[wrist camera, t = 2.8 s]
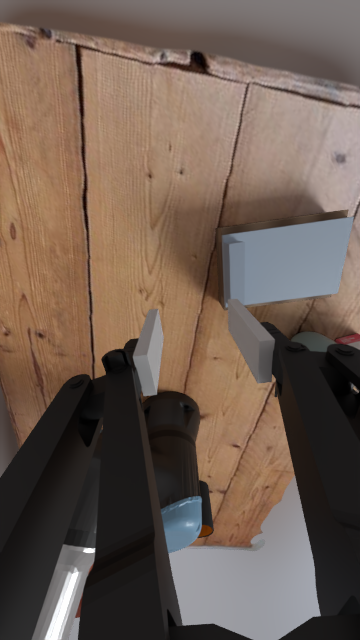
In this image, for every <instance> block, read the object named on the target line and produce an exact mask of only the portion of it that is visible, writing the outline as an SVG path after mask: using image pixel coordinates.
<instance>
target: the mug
mask: <svg viewBox="0 0 360 640" xmlns="http://www.w3.org/2000/svg"><path fill="white" fill-rule="evenodd" d="M199 486H200V496H201V498H202V503H201V511H202V527H201V531H200V534H199V536H198V537H197V538H202V537H206V536H209V535H211V534H212V533H213V531H214V529H213V520H212V512H211V504H210V497H209V489H208V485H207V483H205V482H203V481H199Z"/></svg>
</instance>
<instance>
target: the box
mask: <svg viewBox="0 0 360 640" xmlns="http://www.w3.org/2000/svg"><path fill="white" fill-rule="evenodd" d="M347 214H348V210H341V211H333V212H326V213H319V214H312V215H305V216H298V217H291V218H284V219H277V220H270V221H263V222H256V223H249V224H242V225H235V226H228V227H221V228H216V246H217V266H218V286H219V302H220V304H221V306H222V307H223V309H224V310H228V307H225V305H224V283H223V257H222V235H226V234H233V233H241V232H248V231H255V230H262V229H269V228H276V227H283V226H290V225H297V224H304V223H311V222H318V221H325V220H332V219H339V218H346V217H347ZM331 295H332V294H328V295H320V296H312V297H304V298H296V299H289V300H281V301H273V302H265V303H257V304H250V305H244V307H245V308H248V307H256V306H263V305H271V304H279V303H287V302H295V301H303V300H310V299H318V298H326V297H331Z"/></svg>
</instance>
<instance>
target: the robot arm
mask: <svg viewBox="0 0 360 640" xmlns="http://www.w3.org/2000/svg"><path fill="white" fill-rule="evenodd" d="M228 326H229V331H230V333H231V335H232V337H233V339H234V340H235V342H236V344H237V346H238V348H239V350H240V352H241V353H242V355H243V357H244V359H245V361H246V363H247V365H248V366H249V368H250V370H251V372H252V374H253V376H254V377H255V379H256V381H257V383H266V382H271V381H272V374H273V375H274V377H275V378H276V387H275V397H277V395H278V400H279V404H280V409H281V413H282V418H283V422H284V427H285V432H286V436H287V441H288V445H289V450H290V454H291V459H292V463H293V468H294V472H295V477H296V481H297V486H298V491H299V495H300V499H301V504H302V508H303V513H304V518H305V522H306V527H307V532H308V536H309V541H310V545H311V550H312V554H313V559H314V566H315V577H316V590H317V598H318V603H319V609H320V614H321V616H319V617H312V618H311V619H309V620H308V621H306V622H305V623H303V624H302V625H300V626H299V627H297V628H296V629H294V630H293V631H291V632H289V633H288V634H287V635H285V636H283V637H282V638H281V639H279V640H360V350H359V349H357V348H355V347H353V346H350V345H347V344H331V345H329V346H328V347H327V351H326V352H318V351H310V350H309V349H308V348H307V346H305V345H303V344H302V343H298V342H293V341H290V340H289V339H288V338H287V337H286V336H285V335H284V334H283V333H281V332H280V331H279V330H278V329H277V328H276V327H275V326H274V325H273V324H270V323H268V322H262V323H259V322H258V321H257V320H256V318H255V317H254V316H253V315H252V314H251V313H250V312H249V311H248V310H247V309H246V308H245V307H244V305H243V304H242V303H241V302H240V301H239V300H238V299H229V300H228ZM163 338H164V337H163V332H162V327H161V321H160V316H159V311H158V309H152V310H149V311H148V314H147V317H146V320H145V323H144V326H143V328H142V331H141V334H140V337H139V338H137V339H130V340H129V341H128V342H127V343H126V344H125V346H124V349H115V350H112V351H110V352H108V353H106V354H105V355H104V356H103V357H102V359H101V360H102V363H103V366H104V368H105V371H106V375H104V376H102V377H99V378H96V379H93V380H91V378H90V376H89V375H87V374H81V375H77V376H74V377H72V378H71V379H69V380H68V381H66V383H65V384H64V385H63V386H62V388H61V389H60V390H59V392H58V393H57V395H56V396H55V398H54V399H53V401H52V402H51V404H50V405H49V407H48V408H47V410H46V411H45V413H44V414H43V416H42V417H41V418H40V420H39V421H38V423H37V424H36V426H35V427H34V429H33V430H32V432H31V433H30V435H29V436H28V438H27V439H26V441H25V442H24V444H23V445H22V446H21V448H20V449H19V451H18V452H17V454H16V455H15V457H14V458H13V460H12V462H11V463H10V464H9V466H8V467H7V469H6V470H5V472H4V473H3V475H2V476H1V478H0V640H68V639H69V636H70V632H71V629H72V625H73V622H74V619H75V616H76V613H77V609H78V606H79V603H80V599H81V596H82V593H83V596H82V603H81V611H80V622H79V634H78V640H252V639H250V638H247V637H245V636H242V635H240V634H237V633H235V632H232V631H230V630H227V629H225V628H223V627H220V626H218V625H215V624H201V625H186V626H183V625H182V619H181V614H180V609H179V604H178V599H177V595H176V590H175V586H174V581H173V577H172V572H171V566H170V560H169V554H168V553H171V552H175V551H178V550H180V549H183V548H185V547H187V546H188V545H190V544H191V543H192V542H194V541H195V540H196V538H197V537H198V536H199V534H200V531H201V527H202V511H201V503H202V498H201V496H200V486H199V476H198V465H197V455H196V445H195V442H196V438H197V434H198V429H199V425H200V412H199V408H198V405H197V404H196V402H195V401H194V400H193V399H192V398H190V397H189V396H187V395H184V394H182V393H178V392H162V393H158V394H157V388H158V380H159V372H160V363H161V355H162V347H163ZM354 386H356V387H357V389H358V390H359V393H357V392H356V391H355V390H354V389H353V387H354ZM141 390H142V392H143V396H150V395H153V396H151V397H150V398H148V399H147V400H146V401H145V402H144V403H143V405H142V400H141V396H140V394H141ZM102 425H103V430H102V429H101V428H102ZM92 564H93V567H92V569H91V571H90V572H89V570H90V568H91V566H92ZM88 573H89V574H88Z"/></svg>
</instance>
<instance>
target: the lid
mask: <svg viewBox="0 0 360 640" xmlns="http://www.w3.org/2000/svg"><path fill="white" fill-rule="evenodd" d="M353 218H354V217H346V218H339V219H332V220H325V221H318V222H311V223H304V224H297V225H290V226H283V227H276V228H269V229H262V230H255V231H248V232H241V233H233V234H226V235H222V257H223V283H224V305H225V307H228V300H229V299H238V300H239V301H240V302H241V303H242V304H243V305H250V304H257V303H265V302H273V301H281V300H289V299H296V298H304V297H312V296H320V295H328V294H335V293H338V289H339V284H340V280H341V275H342V270H343V265H344V261H345V256H346V251H347V247H348V242H349V237H350V232H351V228H352V223H353Z"/></svg>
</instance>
